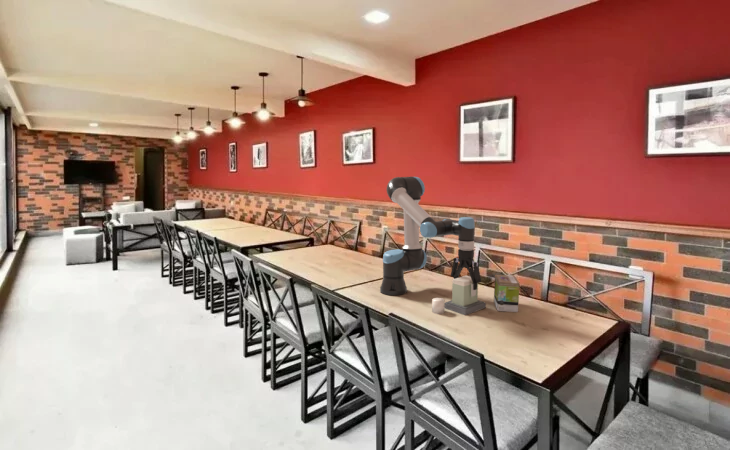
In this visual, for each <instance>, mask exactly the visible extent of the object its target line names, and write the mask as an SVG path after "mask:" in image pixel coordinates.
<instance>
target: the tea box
mask: <svg viewBox="0 0 730 450" xmlns="http://www.w3.org/2000/svg"><path fill="white" fill-rule="evenodd" d="M493 288H494V290H493V292H494V293H493V303H494V305H495V309H496V310H497V311H498V312H508V313H509V312H510V313H518V312H519V299H520V296H519V295H520V282H519V280H518V279H517V277H516V276H515V275H510V274H495V275H494V287H493Z"/></svg>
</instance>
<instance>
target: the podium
mask: <svg viewBox="0 0 730 450" xmlns="http://www.w3.org/2000/svg"><path fill="white" fill-rule="evenodd" d="M485 308H486V302H485V301H483V300H479V299H477V302H475V303H472V304H469V305H466V306H461V305H458V304H455V303H452V299H451V300H448V301H445V310H449V311H452V312H454V313H457V314H460V315H463V316H467V315H469V314H472V313H475V312H478V311H480V310H482V309H483V310H484V309H485Z"/></svg>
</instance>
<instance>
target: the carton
mask: <svg viewBox="0 0 730 450" xmlns="http://www.w3.org/2000/svg"><path fill="white" fill-rule="evenodd" d="M451 282H452V285H451V286H452V287H451V291H452V292H451V300H452V303H455V304H458V305H461V306H466V305H469V304H472V303H475V302H477V300H479V298H478V297H479V296H478V295H479V294H478V293H479V291H478V289H479V288H478V287H479V283H477V289H476V295H475V296H471V283H473V282H472V279H471V276H470V275H463V276H459V277H458V278H455V279H454V278H452V281H451Z"/></svg>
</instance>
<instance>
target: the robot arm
mask: <svg viewBox="0 0 730 450" xmlns="http://www.w3.org/2000/svg"><path fill="white" fill-rule="evenodd" d="M425 189H426V187H425V183H424V181H423V180H422V179H421V177H419V176H396V177H393V178H392V179H390V180H389V181H388V183H387V185H386V194H387V196H388V197H389V199H390V200H391V201H392V202H393V203H395V204H397V205H398V206H399V207H400V208H401V209H402V210H403V211H402V212H403V236H404V245H402V247H401V249H399V248H398V249H390V250H387V251H385V252H384V253H383V257H382V263H383V264H382V271H383V272H382V273H383V274H382V277H383V278H382V282H381V285H380V289H379V291H380V293H381V294H384V295H387V296H400V295H404V294H406V293H407V292H408V290H407V289H408V287H407V285H406V284H407V283H406V281H405V274H404V273H405V272H410V271H418V270H420V269H423V268H424V267H425V265H426V264H427V261H428V260H427V257H428V256H427V253H426V251H425V250H424V249H423V246H422V245H421V244H420V233H421V236H422V237H423V238H430V239H431V238H437V237H442V236H450V235H451V236H452V235H453V236H458V237H457V238H458V241H457V243H458V245H457V246H458V249H457V257H454V258H452V259H453V260H452V261H453V263H452V267H451V271H450V272H451V273H450V277H452V278H453V279H455V278H459V277H460V275H461V273H462V271H463V269H466V270H467V271H468V274H469V276H471V279H472V282H473V283H471V296H475V295H476V289H477V283H478V284H479V283H481V282H482V279H481V273H480V267H479V265H480V262H479V261H475V260H474V256H475V250H474V249H475V228H476V224H475V218H474V217H469V216H463V217H459V218H458V220H456V219H451V218H444V219H442V220H435V219H434V218H433V217H432V216H431V215H430V214H429V213H428V212H427V211H426V210H425V209H424V208H423V207H422V206H421V205H420V204H419V203H420V202H421V198H422V196H423V195H424V193H426V192H425Z"/></svg>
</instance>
